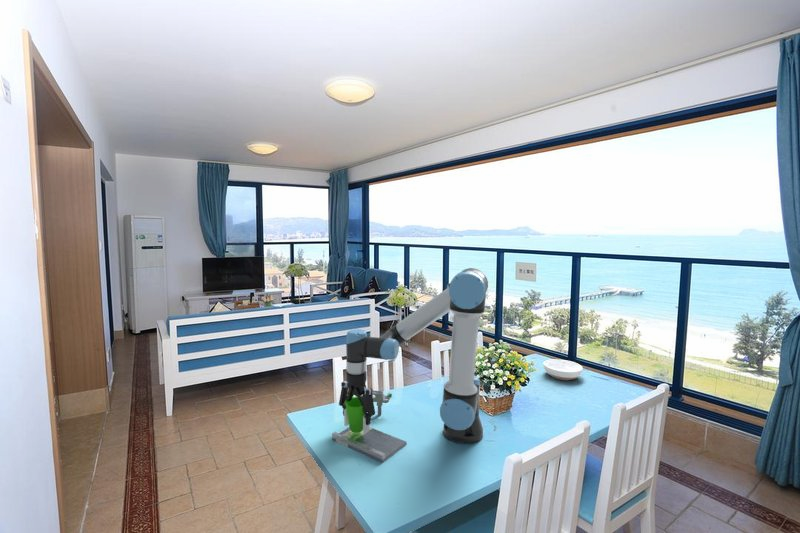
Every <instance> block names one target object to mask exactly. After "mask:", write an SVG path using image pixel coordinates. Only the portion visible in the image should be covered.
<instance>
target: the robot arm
mask: <svg viewBox="0 0 800 533" xmlns="http://www.w3.org/2000/svg"><path fill="white" fill-rule="evenodd" d="M446 286H447V287H446V288H445V289H444V290H443V291H442V292H439V294H437V295H436V296H434V297H433V298H432V299H430V300H428V301H427V302H426V303H425V304H423V305H422V306H420V307H418V309H416V310H415V311H413V312H411V313H410V314H409V315H408V316H406V317H404V318H403V319H402V320H400V321H399V322H398V323H397V324H395V325H393V326H392V327H390V328H389V329H387V330H386V331H385V332H383V334H381V335H380V336H379V337H377V336H375V337H373V336H368V334H367V331H366V330H365V329H359V328H358V329H357V328H353V329H351V330H348V331H347V333H346V340H345V341H346V342H345V347H346V348H345V350H346V351H345V352H346V354H345V355H346V361H345V362H346V365H345V366H346V367H345V368H346V376H345V378H346V380H344V381H342V382H341V383H340V384H341V391H340V396H339V402H338V405H339V406H340V407H342V414H343V419H344V420H343V421H344V424H343V425H344V427H347V426H349V421H348V415H347V409H346V405H345V401H346V400H347V402H349V401H350V400H352V398H353V397H358V400H360V403H361V406H363V407H362V409H363V412H364V415H365V416H364V417H363V434H366V433H367V432H369V427H370V425H371V423H372V422H371V421H372V417H373V416H375V415H376V411H375V404H374V403H375V402H373V397H372V391H374V389H373V388H371V387H370V388H368V387H367V385H366V382H367V376H368V374H367V373H368V372H367V360H368V359H367V358H370V359H379V360H385V361H395V359H397V357H398V355H399V352H400V350H399V349H400V346H401V345H403V344H405V343H406V342H407V341H408V340H410V339H412V338H413V337H414V336H416V335H418V333H420V332H421V331H423V330H424V329H425V328H427V327H429V326H430V325H432V324H433V323H434V322H436V321H437V320H439V319H441V318H442V317H444V316H445V315H446V314H448V313H450V312H452V314H453V319H452V332H451V345H450V356H449V357H450V358H449V359H450V360H449V371H448V372H449V373H448V380H447V381H445V382H444V383H443V390H442V403H441V405H440V406H439V415H440V418H441V421H442V422H443V428H442V429H443V431H442V433H443V435H444V436H445V438H447V439H448V440H450V441H452V442H455V443H459V444H473V443H477V442H480V440H482V439H483V436H484V428H483V425H482V420H481V418H480V389H481V388H480V386H481V382H480V381H481V380H480V378H479V377H478V376H477V375H475V371H476V360H477V348H478V336H479V325H480V324H479V323H480V316H482V315H483V314H484V313H485V309H486V308H485V307H486V296H487V292H488V287H489V281H488V278H487V276H486V274H485V273H484V272H483V271H481V270H480V269H478V268H474V267H470V268H465V269H463V270H462V271H460V272H458V273H457V274H456V275H454V276H453V278H452V279H451V281H450V282H449V283H448V284H447V285H446Z"/></svg>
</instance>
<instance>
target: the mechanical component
mask: <svg viewBox="0 0 800 533" xmlns="http://www.w3.org/2000/svg"><path fill="white" fill-rule="evenodd" d="M392 396H393V395H392V393H391V392H388V393H387V395H385V393H384V391H381V390H373V391H372V397H373V403H376V406H377V416H378V417H381V415H382V406H383V405H384V404H388V403H389V402H390V400H391V399H392Z"/></svg>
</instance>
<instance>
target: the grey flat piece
mask: <svg viewBox="0 0 800 533" xmlns="http://www.w3.org/2000/svg"><path fill="white" fill-rule="evenodd" d="M331 434H332V435H331V440H332V441H334V442H336V443H338V444H341V445H343V446H345V447H347V448H349V449H352V450H354V451H356V452H358V453H360V454H362V455H365V456H367V457H369V458H372V459H374V460H375V461H377V462H380V463H381V464H382V463H384V462H385V461H387V460H388V459H389V458H391V457H392V456H394V455H395V454H397V452H399V451H400V450H401V449H403V448H404V447H405V446H407V441H405V440H403V439H401V438H397V437H395V436H393V435H390V434H388V433H385V432H384V431H380V430H378V429H375V428H372V427H370V426H369V432H367V433H366V434H363V431H361V432H358V433H354V432H351V430H350V427H348V428H346V429H344V430H342V431H340V432H337V431H334V432H332V433H331Z"/></svg>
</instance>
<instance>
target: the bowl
mask: <svg viewBox="0 0 800 533" xmlns="http://www.w3.org/2000/svg"><path fill="white" fill-rule="evenodd" d="M543 369H544V371H545V372H546V373H547V374H548V375H549V376H551V377H553V378H554V379H557V380H561V381H571V380H575V379H577V378H578V377H580V376H581V375H582V374H583V370H584V368H583V366H582V365H580V364H579V363H577V362H575V361H571V360H566V359H558V358H552V359H547V360H545V361H543Z"/></svg>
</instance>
